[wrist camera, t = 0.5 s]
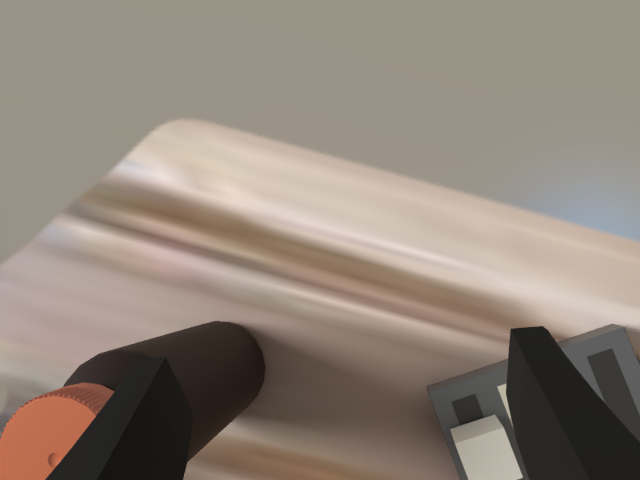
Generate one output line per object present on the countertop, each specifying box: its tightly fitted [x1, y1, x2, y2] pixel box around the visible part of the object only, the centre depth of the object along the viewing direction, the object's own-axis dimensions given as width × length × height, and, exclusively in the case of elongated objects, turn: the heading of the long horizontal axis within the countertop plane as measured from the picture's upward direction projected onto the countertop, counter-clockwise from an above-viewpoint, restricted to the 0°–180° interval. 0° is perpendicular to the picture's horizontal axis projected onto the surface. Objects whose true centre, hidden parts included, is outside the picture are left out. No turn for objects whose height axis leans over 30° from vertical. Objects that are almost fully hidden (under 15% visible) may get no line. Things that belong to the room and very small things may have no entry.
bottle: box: [0, 321, 265, 480], centre depth 31 cm, size 7×7×20 cm
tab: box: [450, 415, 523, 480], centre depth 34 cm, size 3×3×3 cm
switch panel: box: [427, 324, 640, 480], centre depth 36 cm, size 14×13×2 cm
